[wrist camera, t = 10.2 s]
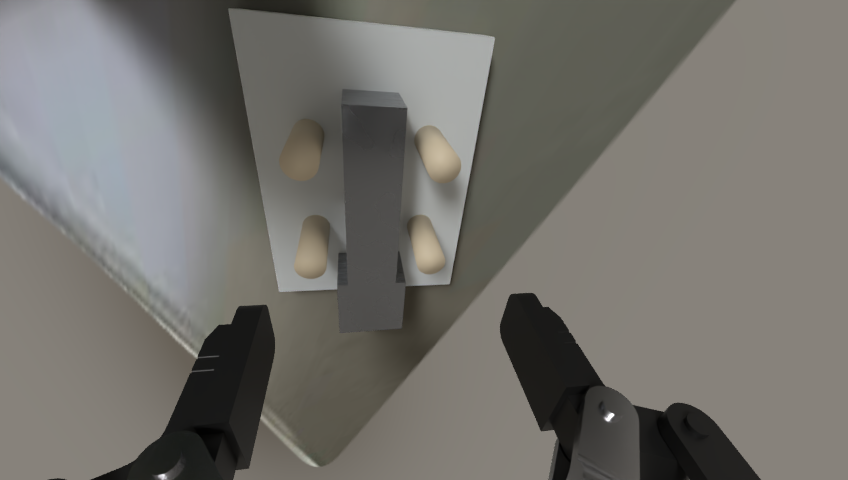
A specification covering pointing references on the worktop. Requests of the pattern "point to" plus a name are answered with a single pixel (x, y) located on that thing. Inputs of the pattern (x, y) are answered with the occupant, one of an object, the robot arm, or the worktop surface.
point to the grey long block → (372, 211)
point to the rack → (322, 133)
